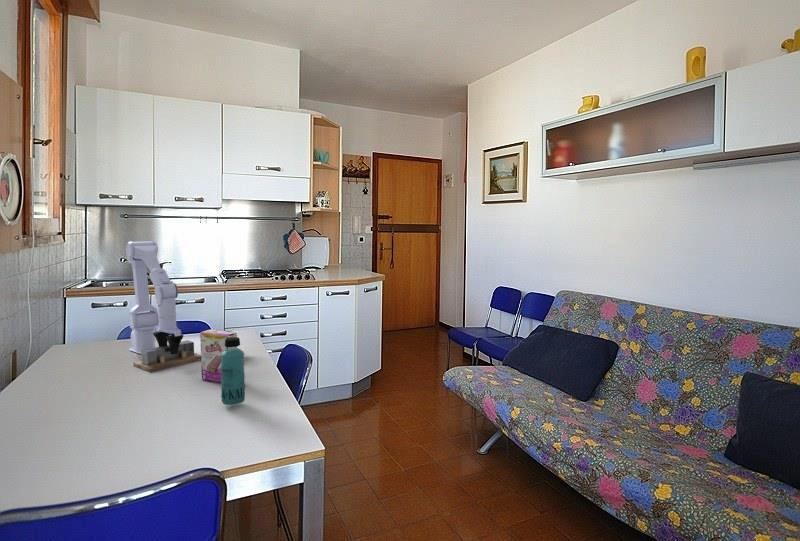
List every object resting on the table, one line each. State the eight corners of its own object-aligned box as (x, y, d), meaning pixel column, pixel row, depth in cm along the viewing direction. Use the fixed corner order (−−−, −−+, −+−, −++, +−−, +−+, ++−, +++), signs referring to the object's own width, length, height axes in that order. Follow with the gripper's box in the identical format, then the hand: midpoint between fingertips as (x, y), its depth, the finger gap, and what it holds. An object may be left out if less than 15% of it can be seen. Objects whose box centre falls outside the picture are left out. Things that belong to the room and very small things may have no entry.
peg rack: (133, 365, 168) (132, 355, 168) (186, 353, 184) (185, 344, 184) (149, 372, 161) (149, 362, 161) (203, 358, 177) (202, 349, 177)
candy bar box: (200, 380, 154) (199, 332, 152) (211, 376, 158) (210, 328, 157) (228, 385, 150) (227, 335, 148) (238, 380, 155) (237, 331, 153)
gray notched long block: (147, 365, 164) (147, 352, 164) (141, 363, 167) (141, 350, 166) (194, 354, 178) (193, 342, 178) (187, 352, 181) (187, 340, 180)
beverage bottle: (225, 401, 136) (223, 335, 134) (248, 401, 137) (246, 335, 135) (218, 410, 130) (216, 341, 128) (242, 410, 130) (241, 340, 128)
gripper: (146, 315, 172) (148, 350, 173) (166, 320, 163) (168, 358, 165) (165, 312, 177) (166, 346, 179) (186, 317, 169) (187, 353, 171)
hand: (168, 352), depth 172 cm, fingers open, 7 cm apart
